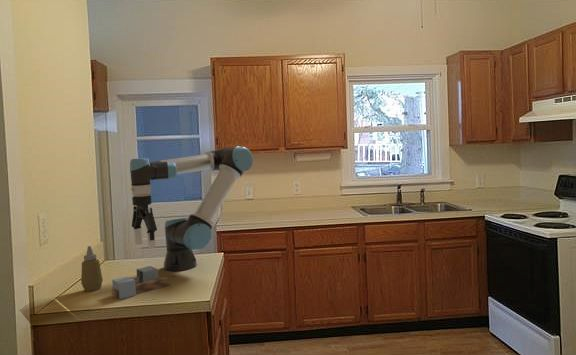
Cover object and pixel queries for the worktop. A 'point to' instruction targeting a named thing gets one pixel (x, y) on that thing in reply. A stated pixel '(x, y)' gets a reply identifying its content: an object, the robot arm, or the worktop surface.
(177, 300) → the worktop surface
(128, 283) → the slider block
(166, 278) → the rail
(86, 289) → the squeeze bottle
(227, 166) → the robot arm
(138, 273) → the grey cube block
